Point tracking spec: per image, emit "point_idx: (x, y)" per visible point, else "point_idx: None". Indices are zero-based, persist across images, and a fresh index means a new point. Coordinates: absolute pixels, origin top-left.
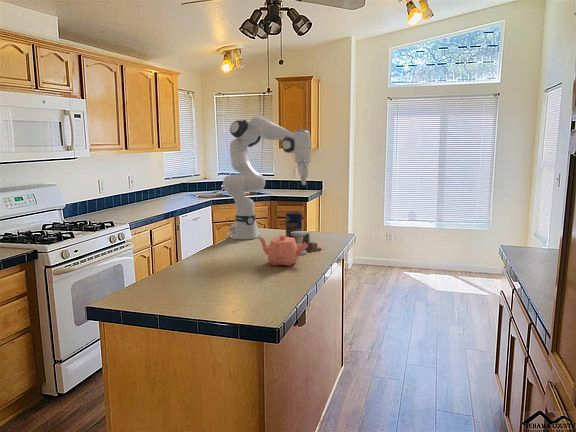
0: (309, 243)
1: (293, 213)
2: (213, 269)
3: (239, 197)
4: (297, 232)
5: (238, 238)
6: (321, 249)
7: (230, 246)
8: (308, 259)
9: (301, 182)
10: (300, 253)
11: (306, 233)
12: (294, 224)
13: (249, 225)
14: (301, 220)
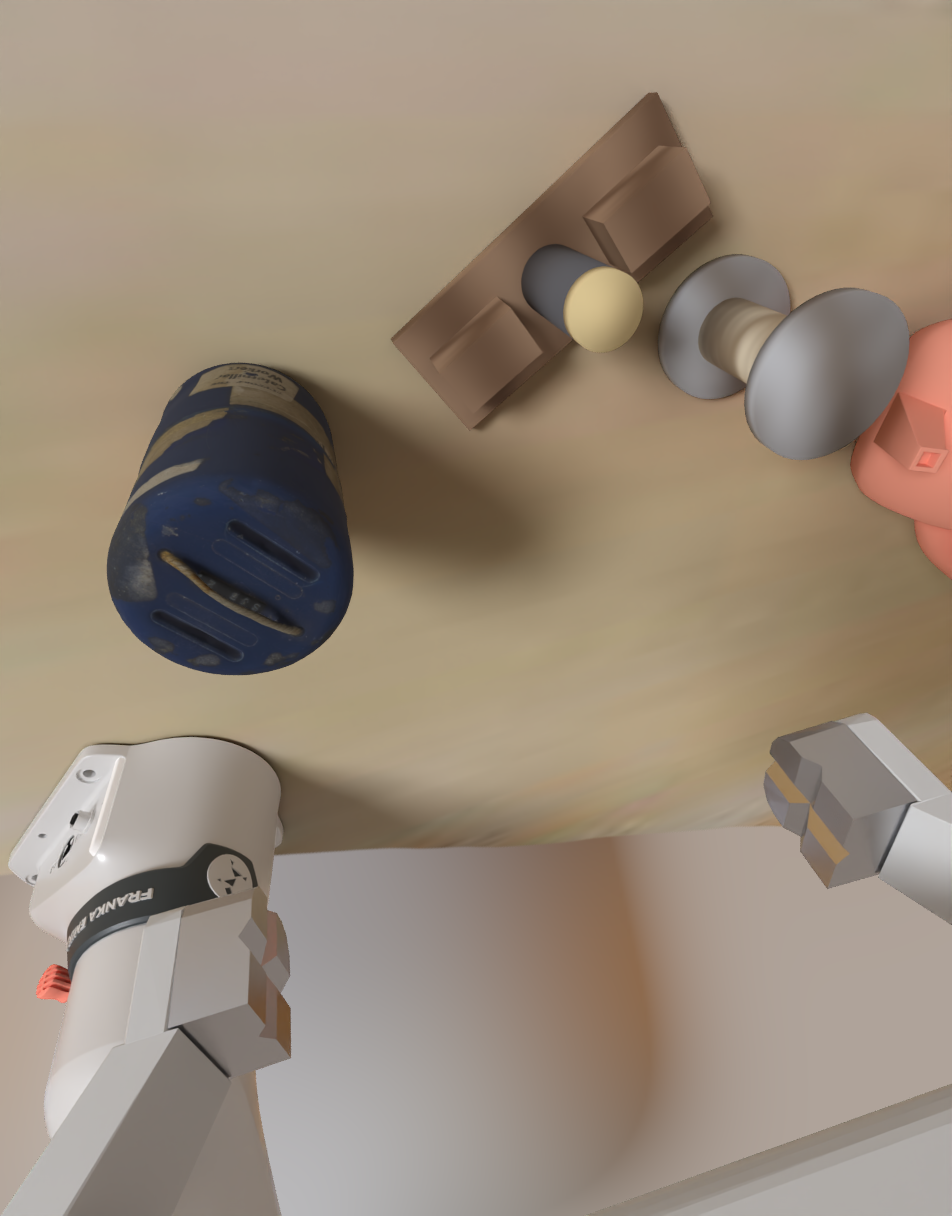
0: (659, 244)
1: (324, 581)
2: (894, 691)
3: (268, 1159)
4: (817, 392)
5: (277, 816)
6: (651, 93)
7: (471, 781)
8: (913, 223)
9: (286, 963)
10: (789, 309)
11: (639, 301)
12: (341, 497)
13: (239, 849)
14: (240, 439)
